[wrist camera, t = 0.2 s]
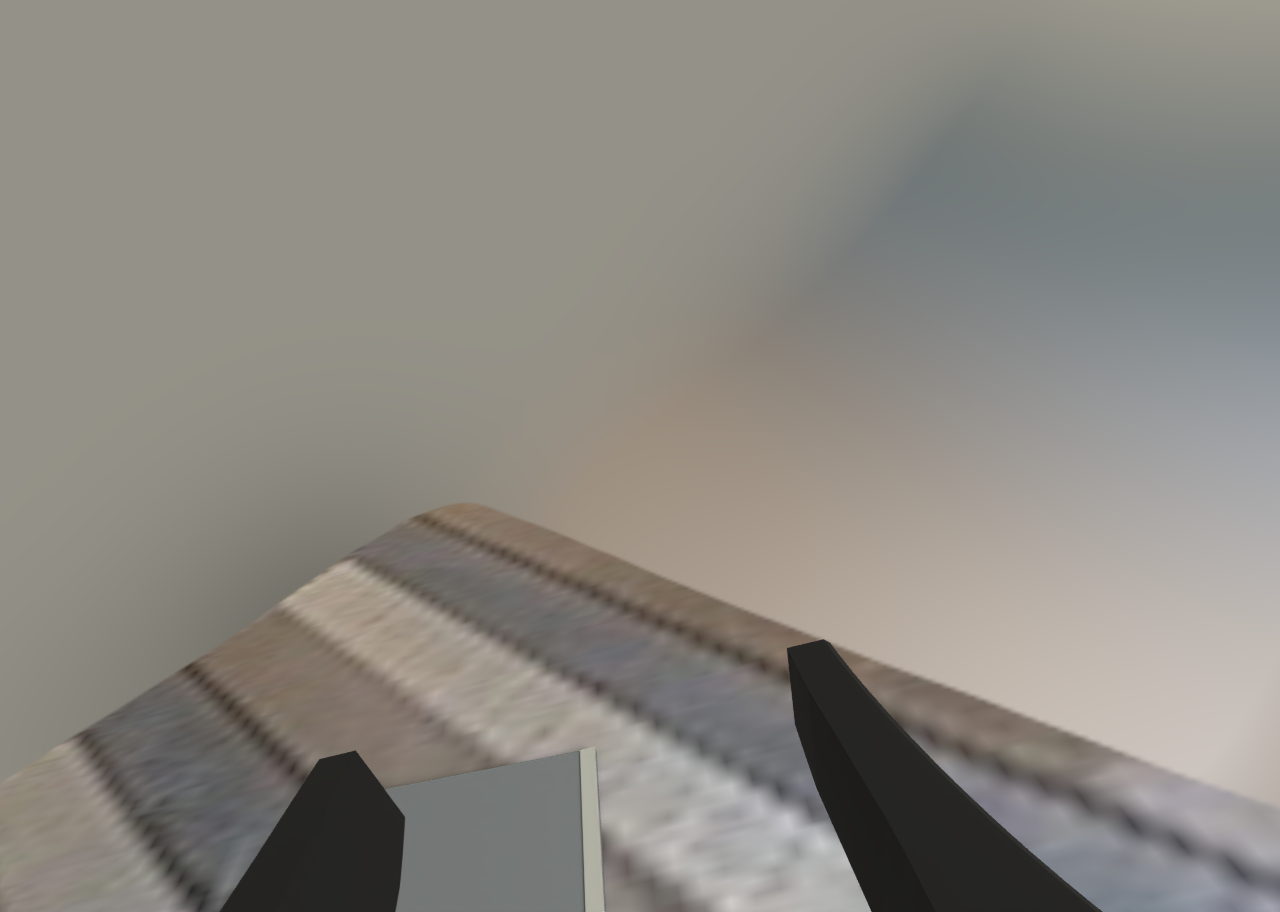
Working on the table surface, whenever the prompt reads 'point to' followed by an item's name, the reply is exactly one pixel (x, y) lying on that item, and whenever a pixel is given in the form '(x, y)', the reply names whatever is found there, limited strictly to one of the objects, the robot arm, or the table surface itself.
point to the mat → (504, 839)
